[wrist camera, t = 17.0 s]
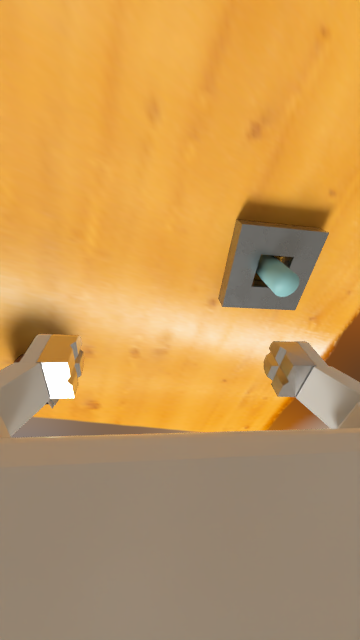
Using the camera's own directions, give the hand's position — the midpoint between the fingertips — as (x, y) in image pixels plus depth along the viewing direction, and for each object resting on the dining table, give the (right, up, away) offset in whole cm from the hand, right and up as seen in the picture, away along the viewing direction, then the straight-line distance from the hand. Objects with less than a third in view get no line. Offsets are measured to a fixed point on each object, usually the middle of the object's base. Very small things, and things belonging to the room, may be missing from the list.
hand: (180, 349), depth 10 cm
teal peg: (+15, +11, +32) cm, 37 cm away
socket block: (+15, +11, +32) cm, 37 cm away
